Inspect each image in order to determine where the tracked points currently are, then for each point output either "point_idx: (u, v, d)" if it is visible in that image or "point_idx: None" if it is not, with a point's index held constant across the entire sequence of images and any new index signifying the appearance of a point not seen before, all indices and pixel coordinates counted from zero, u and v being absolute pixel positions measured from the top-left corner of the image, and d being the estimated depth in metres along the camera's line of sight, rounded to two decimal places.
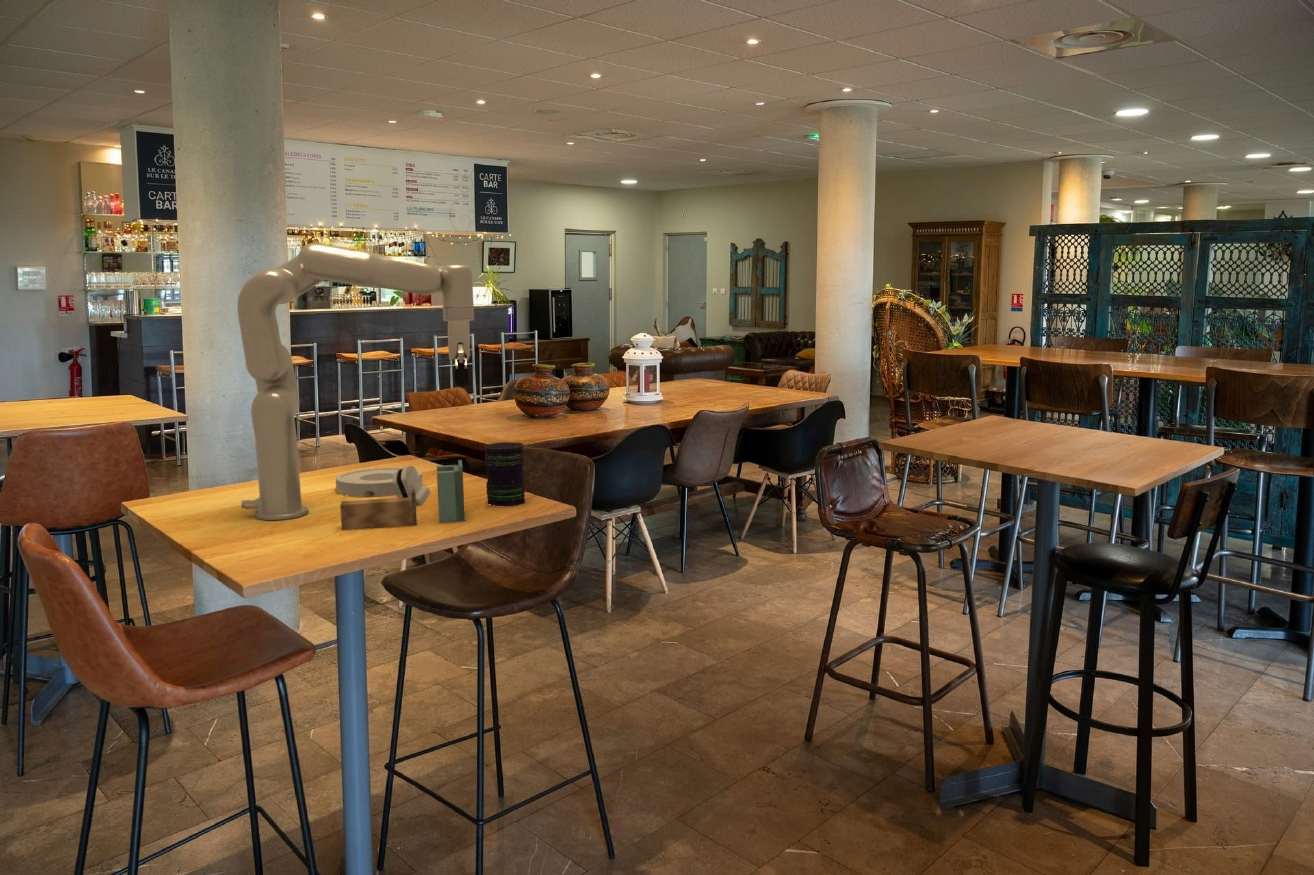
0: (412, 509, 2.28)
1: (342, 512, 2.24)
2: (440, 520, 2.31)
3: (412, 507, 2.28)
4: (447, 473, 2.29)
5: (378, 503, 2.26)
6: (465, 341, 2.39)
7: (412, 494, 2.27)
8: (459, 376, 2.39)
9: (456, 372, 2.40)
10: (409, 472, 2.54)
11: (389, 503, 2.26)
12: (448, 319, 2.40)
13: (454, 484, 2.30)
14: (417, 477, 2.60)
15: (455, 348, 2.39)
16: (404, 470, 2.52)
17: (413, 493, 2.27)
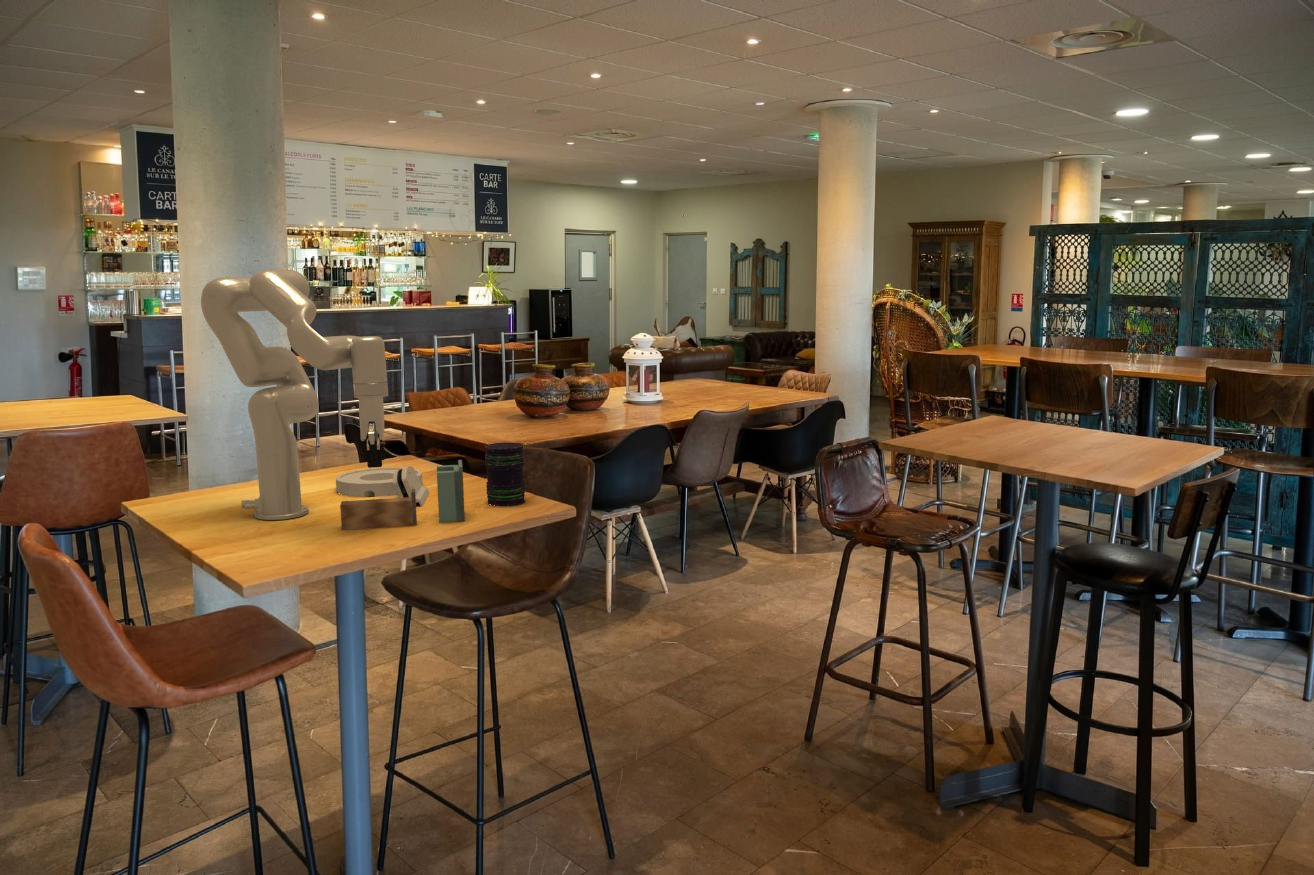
0: (412, 509, 2.28)
1: (342, 512, 2.24)
2: (440, 520, 2.31)
3: (412, 507, 2.28)
4: (447, 473, 2.29)
5: (378, 503, 2.26)
6: (377, 420, 2.20)
7: (412, 494, 2.27)
8: (371, 458, 2.20)
9: (368, 453, 2.20)
10: (409, 472, 2.53)
11: (389, 503, 2.26)
12: (358, 396, 2.20)
13: (454, 484, 2.30)
14: (416, 477, 2.60)
15: (366, 428, 2.19)
16: (404, 470, 2.51)
17: (413, 493, 2.27)
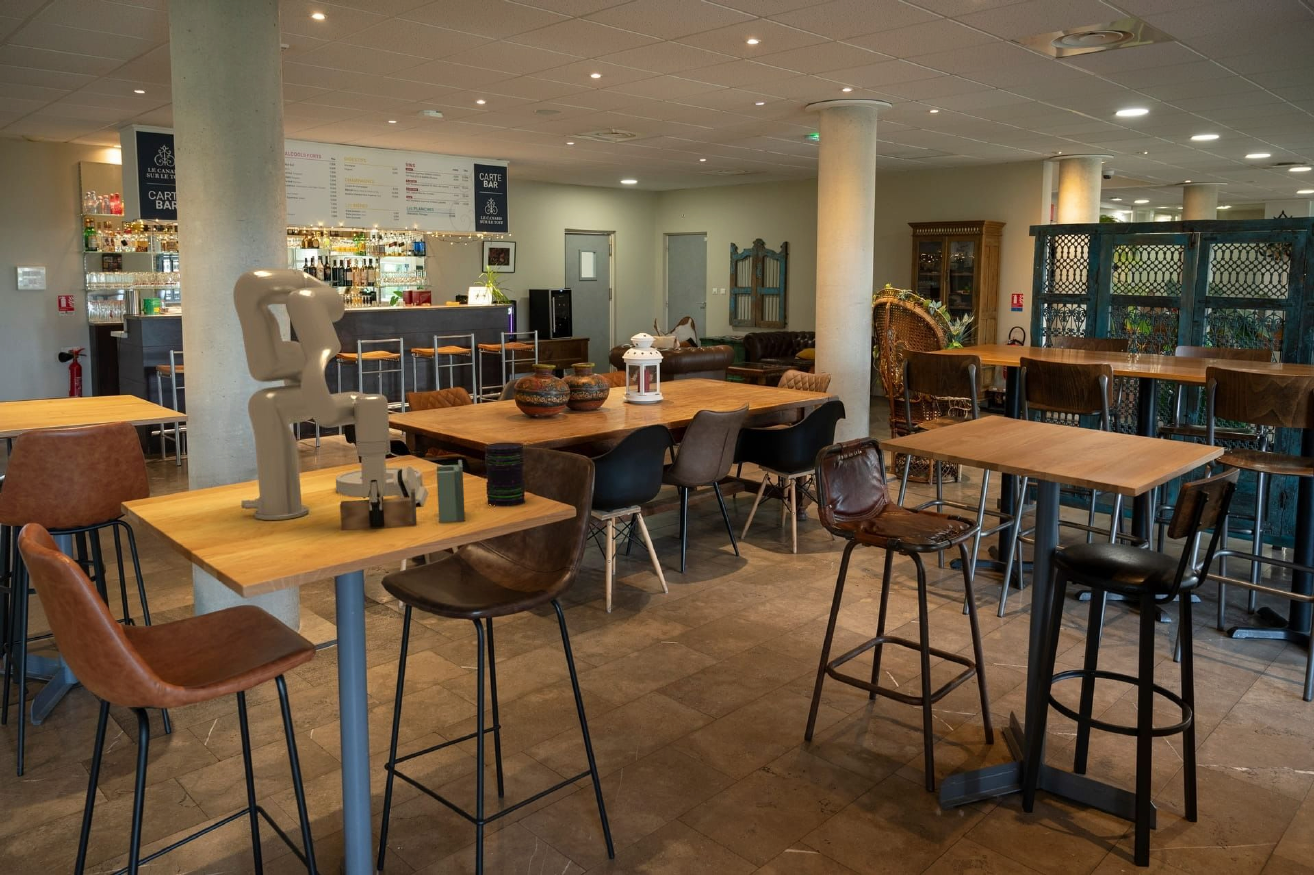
0: (412, 509, 2.28)
1: (342, 512, 2.24)
2: (440, 520, 2.31)
3: (412, 507, 2.28)
4: (447, 473, 2.29)
5: None
6: (379, 478, 2.22)
7: (412, 494, 2.27)
8: (373, 518, 2.25)
9: (370, 514, 2.25)
10: (409, 473, 2.53)
11: (389, 503, 2.26)
12: (361, 454, 2.23)
13: (454, 484, 2.30)
14: (415, 478, 2.60)
15: (368, 486, 2.22)
16: (404, 471, 2.51)
17: (413, 493, 2.27)
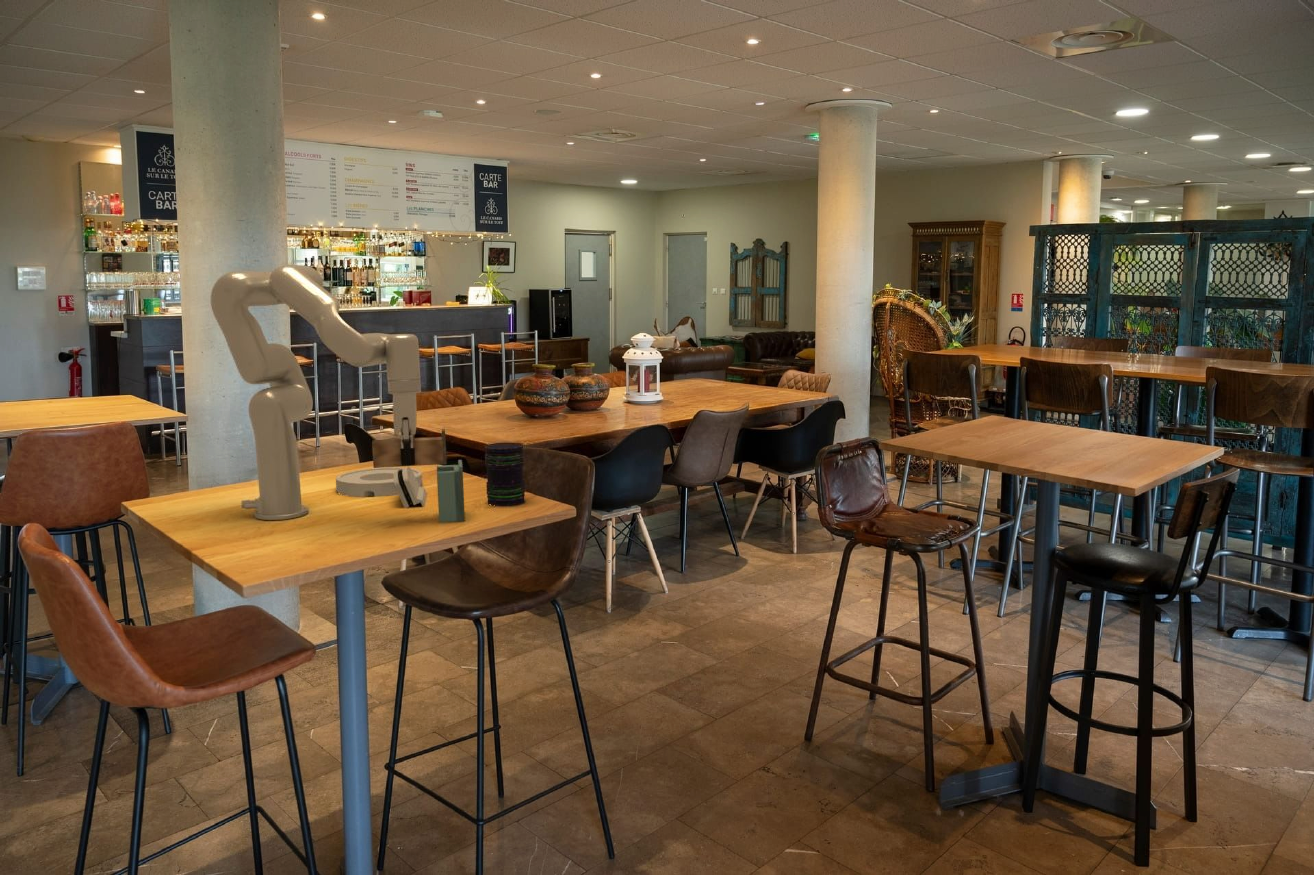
0: (442, 448, 2.31)
1: (374, 450, 2.28)
2: (440, 520, 2.31)
3: (442, 446, 2.31)
4: (447, 473, 2.29)
5: None
6: (410, 416, 2.25)
7: (442, 433, 2.31)
8: (405, 456, 2.28)
9: (402, 452, 2.28)
10: (409, 473, 2.53)
11: (420, 441, 2.30)
12: (392, 392, 2.26)
13: (454, 484, 2.30)
14: (414, 478, 2.59)
15: (400, 423, 2.25)
16: (404, 471, 2.50)
17: (443, 432, 2.31)
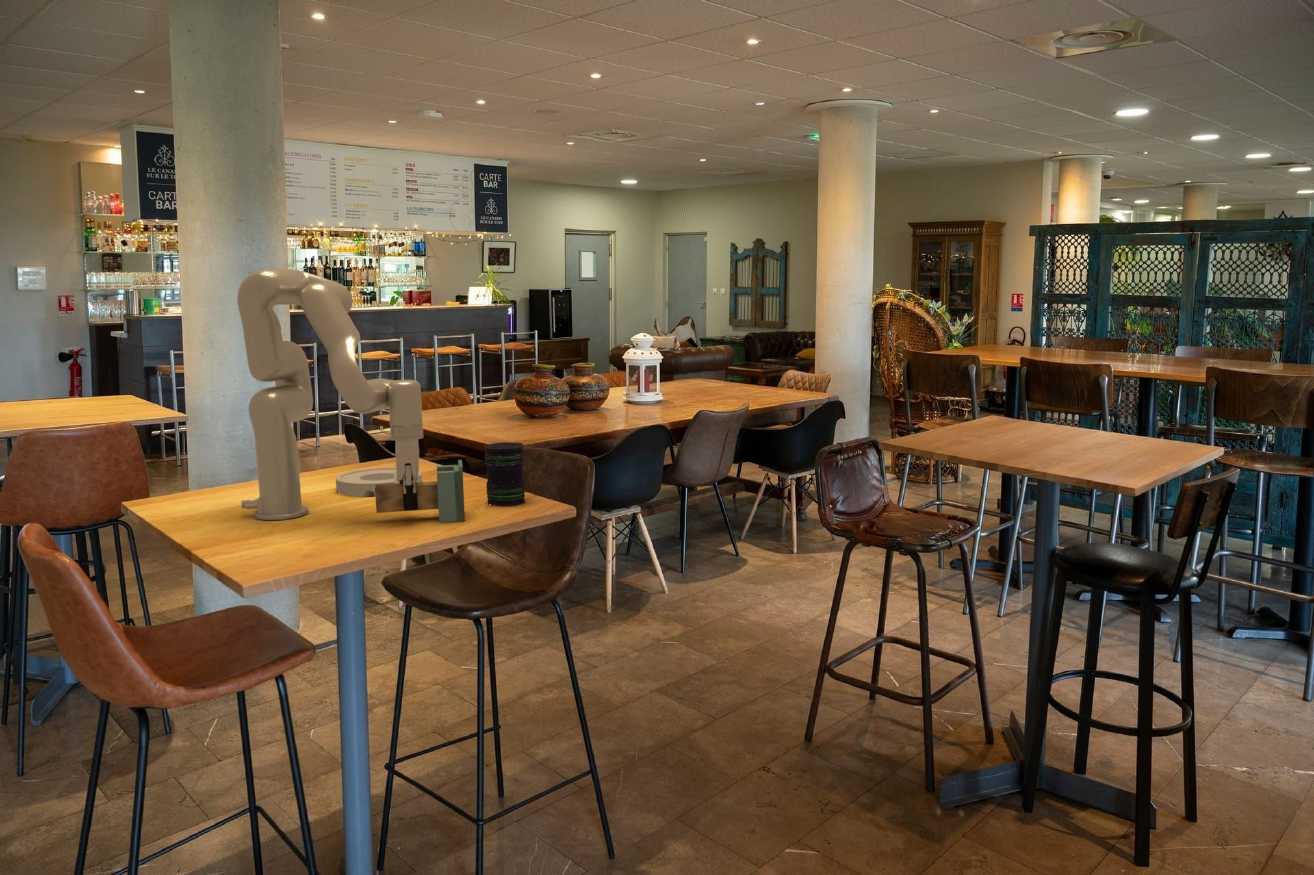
0: None
1: (377, 495, 2.29)
2: (440, 520, 2.31)
3: None
4: (447, 473, 2.29)
5: None
6: (413, 462, 2.27)
7: None
8: (407, 501, 2.30)
9: (404, 497, 2.30)
10: None
11: (422, 486, 2.31)
12: (395, 438, 2.28)
13: (454, 484, 2.30)
14: None
15: (402, 469, 2.27)
16: None
17: None
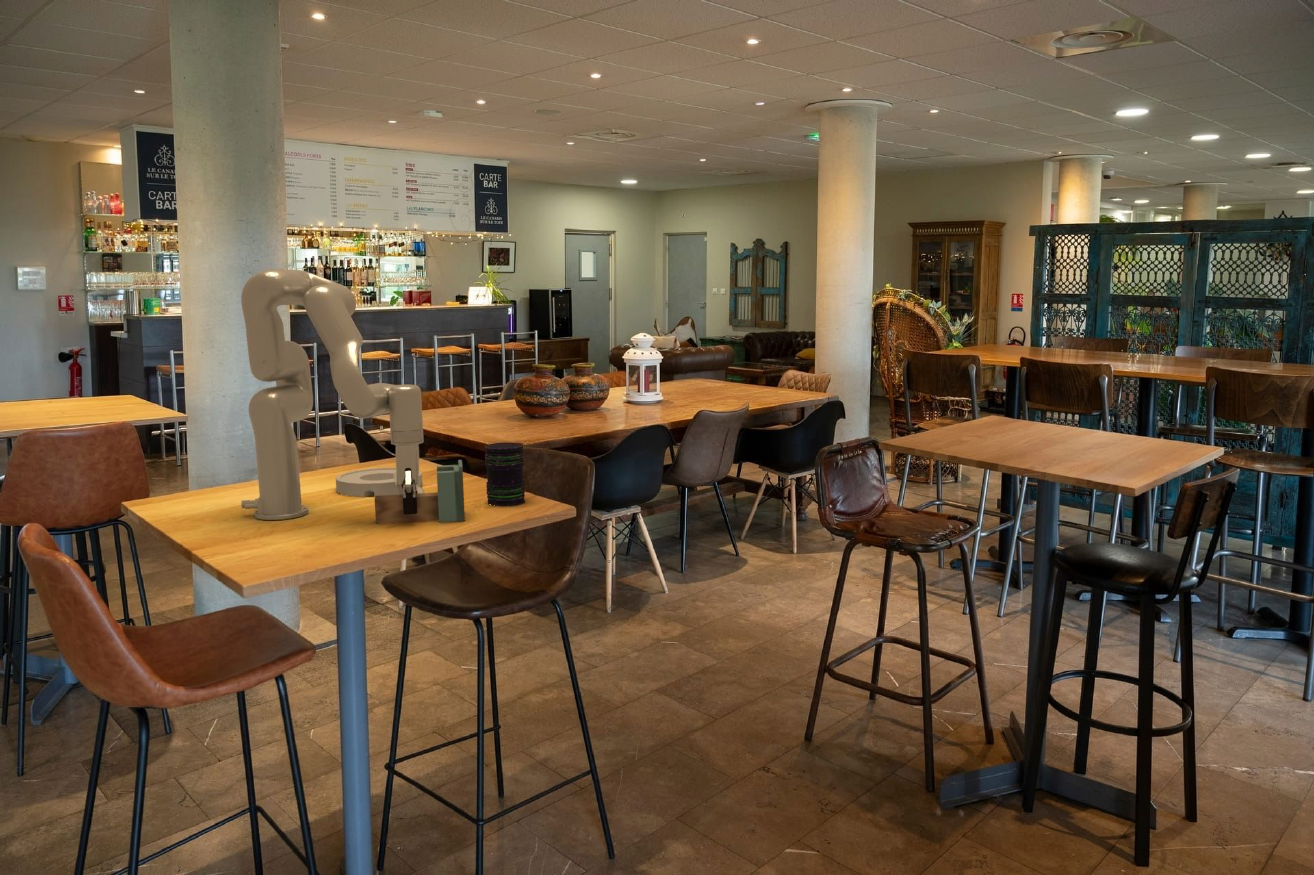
0: None
1: (376, 506, 2.30)
2: (440, 520, 2.31)
3: None
4: (447, 473, 2.29)
5: None
6: (413, 467, 2.27)
7: None
8: (407, 505, 2.29)
9: (404, 501, 2.29)
10: None
11: (422, 498, 2.32)
12: (395, 443, 2.28)
13: (454, 484, 2.30)
14: None
15: (402, 474, 2.27)
16: None
17: None
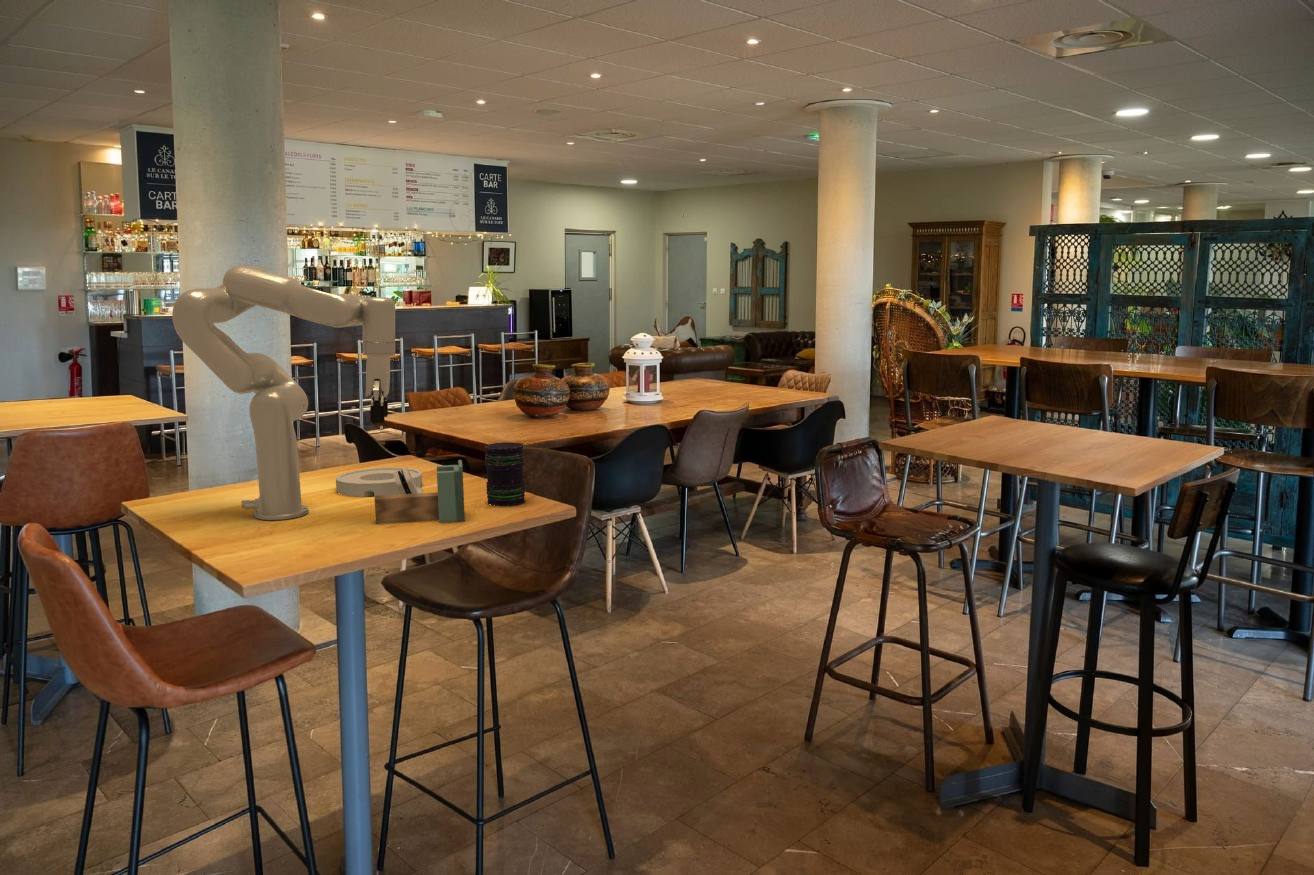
0: None
1: (376, 506, 2.30)
2: (440, 520, 2.31)
3: None
4: (447, 473, 2.29)
5: (411, 497, 2.31)
6: (382, 378, 2.30)
7: None
8: (374, 413, 2.30)
9: (371, 409, 2.30)
10: (409, 473, 2.52)
11: (422, 498, 2.32)
12: (366, 353, 2.30)
13: (454, 484, 2.30)
14: (412, 479, 2.59)
15: (371, 384, 2.29)
16: (405, 471, 2.50)
17: None
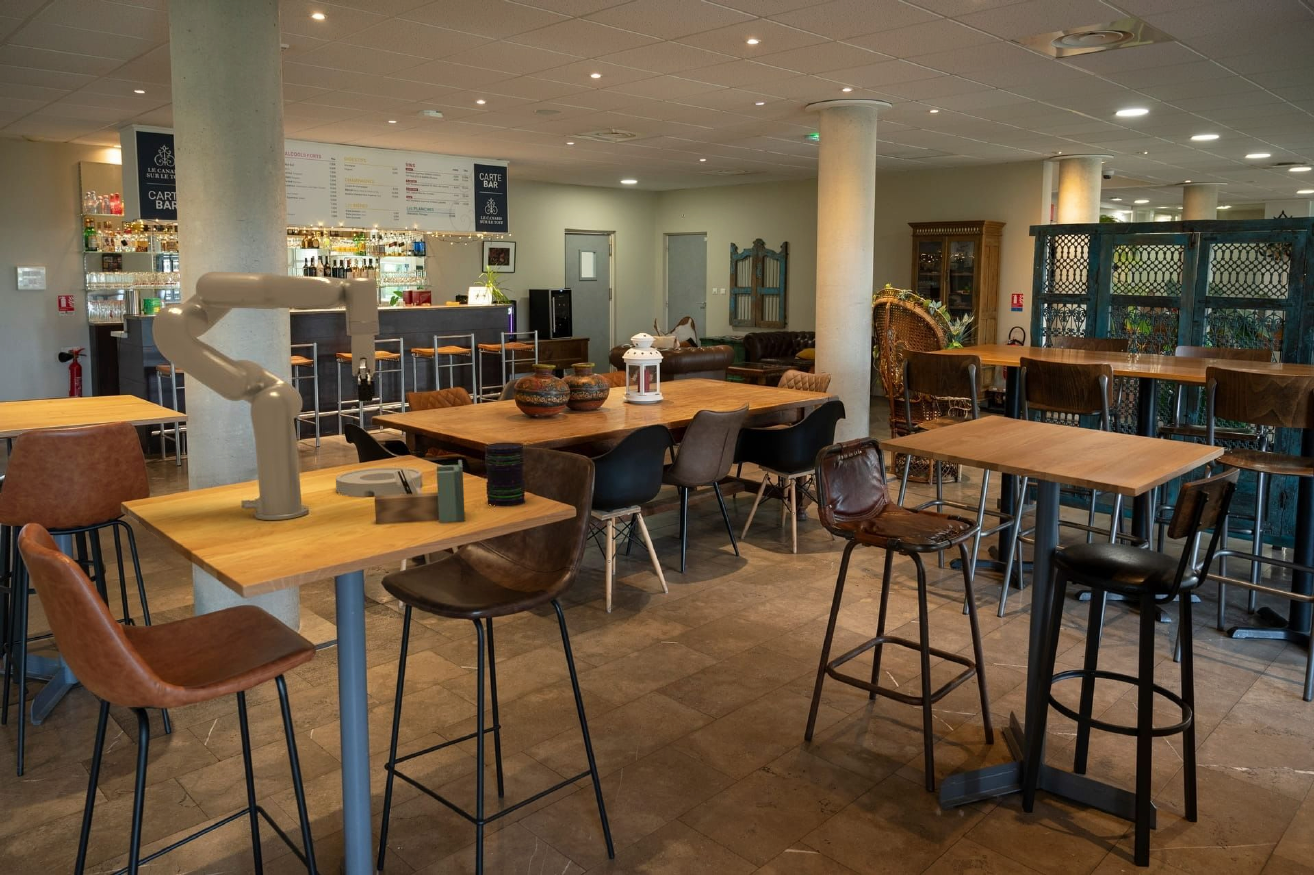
0: None
1: (376, 506, 2.30)
2: (440, 520, 2.31)
3: None
4: (447, 473, 2.29)
5: (411, 498, 2.31)
6: (368, 356, 2.33)
7: None
8: (362, 392, 2.33)
9: (359, 388, 2.33)
10: (409, 474, 2.52)
11: (422, 498, 2.32)
12: (351, 333, 2.33)
13: (454, 484, 2.30)
14: None
15: (358, 363, 2.32)
16: (406, 472, 2.49)
17: None
